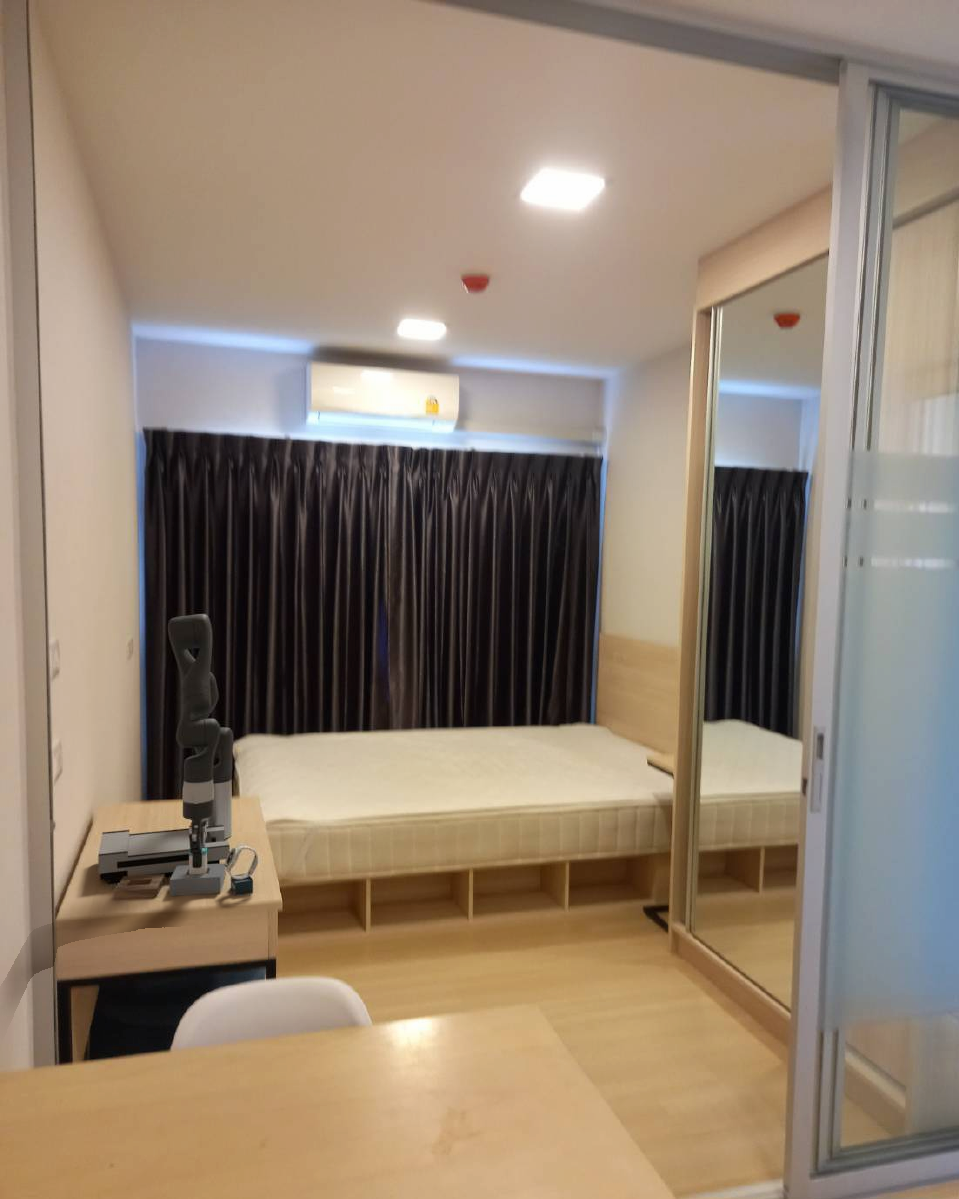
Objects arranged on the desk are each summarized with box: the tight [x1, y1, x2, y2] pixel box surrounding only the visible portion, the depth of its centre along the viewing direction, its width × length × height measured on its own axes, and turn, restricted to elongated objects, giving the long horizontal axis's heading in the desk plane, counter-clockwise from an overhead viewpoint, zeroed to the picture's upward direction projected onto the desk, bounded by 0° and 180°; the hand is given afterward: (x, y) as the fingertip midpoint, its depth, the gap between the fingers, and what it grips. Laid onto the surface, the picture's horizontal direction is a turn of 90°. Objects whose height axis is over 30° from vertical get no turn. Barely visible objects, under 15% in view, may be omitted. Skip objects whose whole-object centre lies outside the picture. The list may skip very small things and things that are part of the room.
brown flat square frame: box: [113, 874, 166, 900], centre depth 205 cm, size 10×10×2 cm
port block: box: [169, 862, 226, 897], centre depth 208 cm, size 10×12×4 cm
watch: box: [224, 844, 259, 896], centre depth 206 cm, size 6×8×11 cm
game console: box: [97, 825, 231, 886], centre depth 223 cm, size 21×32×8 cm, turn 112°
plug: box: [189, 848, 207, 875], centre depth 208 cm, size 3×4×8 cm, turn 101°
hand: (198, 865), depth 208 cm, fingers closed on plug, 2 cm apart
